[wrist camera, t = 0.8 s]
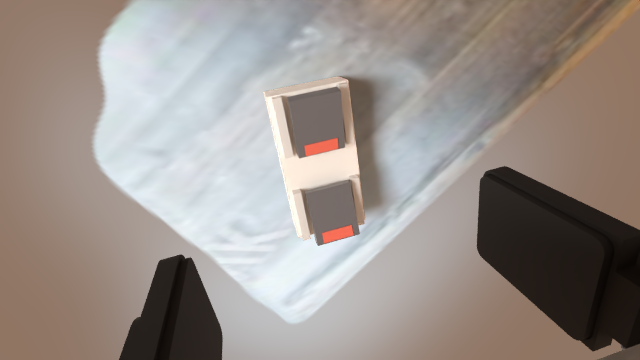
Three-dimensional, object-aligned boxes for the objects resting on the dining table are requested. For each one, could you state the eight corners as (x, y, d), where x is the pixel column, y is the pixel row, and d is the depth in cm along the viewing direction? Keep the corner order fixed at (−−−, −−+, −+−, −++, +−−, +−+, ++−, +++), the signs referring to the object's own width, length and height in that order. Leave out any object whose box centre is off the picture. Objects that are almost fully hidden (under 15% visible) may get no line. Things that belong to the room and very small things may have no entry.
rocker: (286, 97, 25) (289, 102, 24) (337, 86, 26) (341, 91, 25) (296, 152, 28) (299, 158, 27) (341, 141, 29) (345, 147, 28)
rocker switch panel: (263, 91, 29) (267, 98, 26) (337, 76, 30) (351, 81, 27) (293, 222, 35) (300, 242, 31) (355, 205, 36) (367, 223, 32)
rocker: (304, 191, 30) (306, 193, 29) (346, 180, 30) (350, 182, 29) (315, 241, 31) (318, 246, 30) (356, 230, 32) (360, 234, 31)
